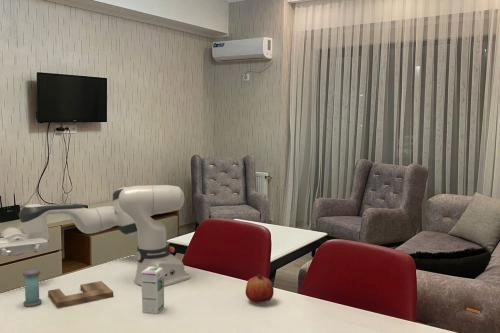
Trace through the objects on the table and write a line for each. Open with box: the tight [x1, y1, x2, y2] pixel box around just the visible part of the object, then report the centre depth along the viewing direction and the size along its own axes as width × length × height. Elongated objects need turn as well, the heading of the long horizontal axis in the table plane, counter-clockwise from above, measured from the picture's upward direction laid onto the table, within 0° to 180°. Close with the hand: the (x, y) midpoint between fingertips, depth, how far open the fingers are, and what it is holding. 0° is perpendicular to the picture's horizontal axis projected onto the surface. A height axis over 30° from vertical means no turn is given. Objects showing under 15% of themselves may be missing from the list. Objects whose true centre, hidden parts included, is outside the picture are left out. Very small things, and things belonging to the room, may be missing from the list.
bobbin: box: [22, 267, 42, 308], centre depth 164 cm, size 6×6×12 cm
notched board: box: [47, 280, 114, 309], centre depth 172 cm, size 20×14×2 cm
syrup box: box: [141, 267, 165, 315], centre depth 160 cm, size 6×6×14 cm
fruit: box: [245, 273, 274, 304], centre depth 169 cm, size 11×10×10 cm
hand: (22, 251), depth 173 cm, fingers open, 8 cm apart
